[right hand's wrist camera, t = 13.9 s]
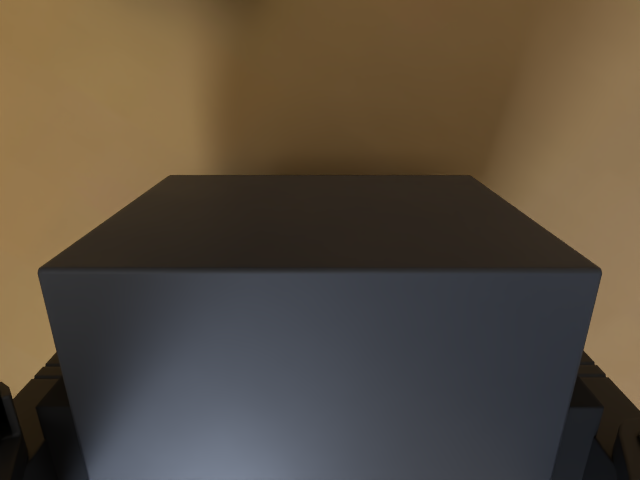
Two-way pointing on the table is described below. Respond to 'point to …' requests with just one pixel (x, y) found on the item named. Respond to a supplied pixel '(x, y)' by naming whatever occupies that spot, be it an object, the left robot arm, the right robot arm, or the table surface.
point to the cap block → (319, 331)
